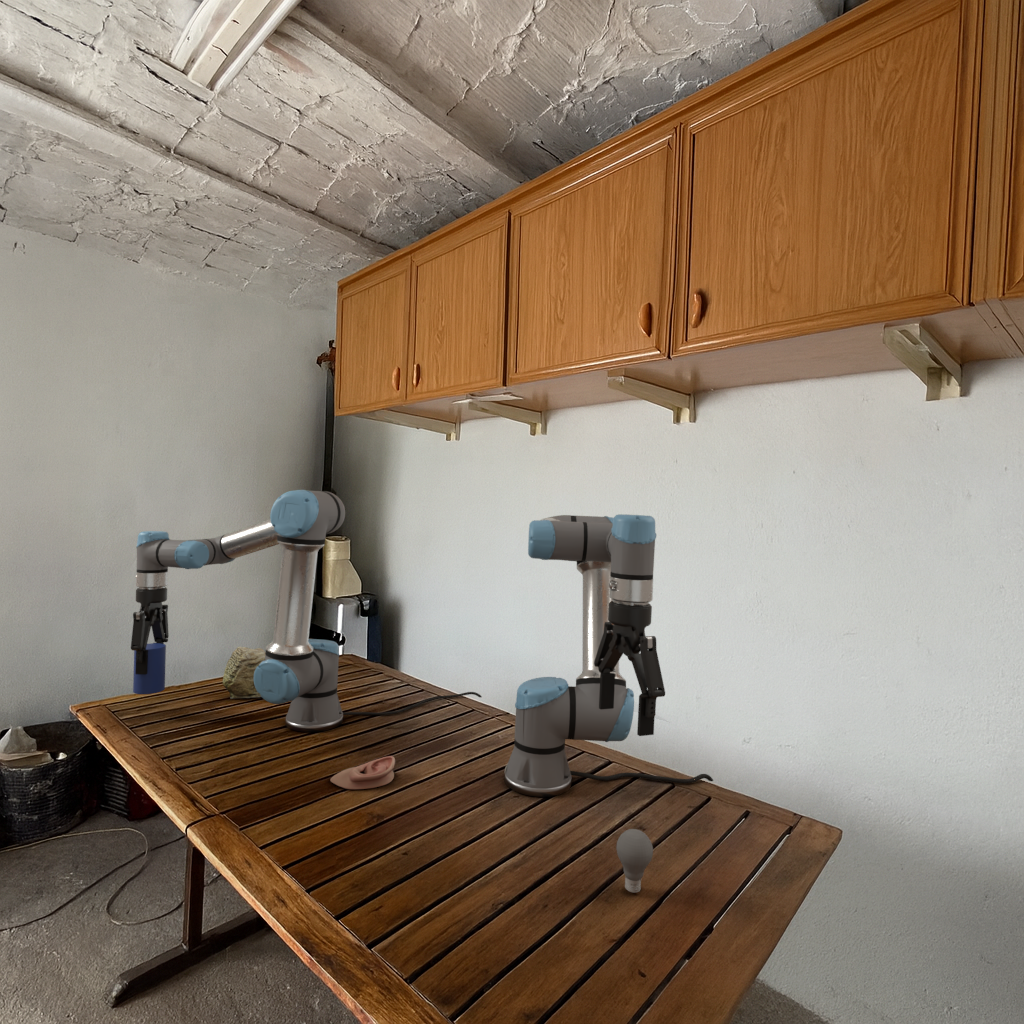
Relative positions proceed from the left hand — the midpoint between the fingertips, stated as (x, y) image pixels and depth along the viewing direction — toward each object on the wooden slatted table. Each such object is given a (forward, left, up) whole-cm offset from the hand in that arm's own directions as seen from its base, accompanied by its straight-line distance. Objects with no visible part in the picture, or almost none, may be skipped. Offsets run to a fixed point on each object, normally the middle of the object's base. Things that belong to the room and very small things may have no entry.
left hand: (149, 669), depth 175 cm
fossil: (-31, +1, -13) cm, 33 cm away
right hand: (-26, +132, +13) cm, 135 cm away
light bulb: (-21, +137, -13) cm, 140 cm away
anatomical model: (-17, +72, -13) cm, 76 cm away
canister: (0, 0, -6) cm, 6 cm away
